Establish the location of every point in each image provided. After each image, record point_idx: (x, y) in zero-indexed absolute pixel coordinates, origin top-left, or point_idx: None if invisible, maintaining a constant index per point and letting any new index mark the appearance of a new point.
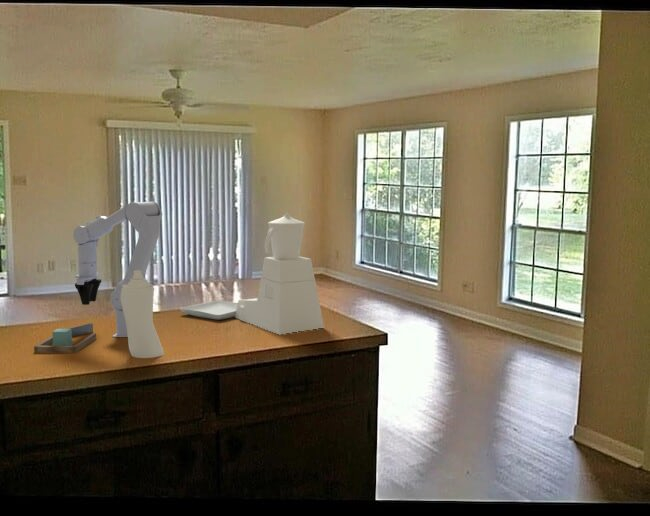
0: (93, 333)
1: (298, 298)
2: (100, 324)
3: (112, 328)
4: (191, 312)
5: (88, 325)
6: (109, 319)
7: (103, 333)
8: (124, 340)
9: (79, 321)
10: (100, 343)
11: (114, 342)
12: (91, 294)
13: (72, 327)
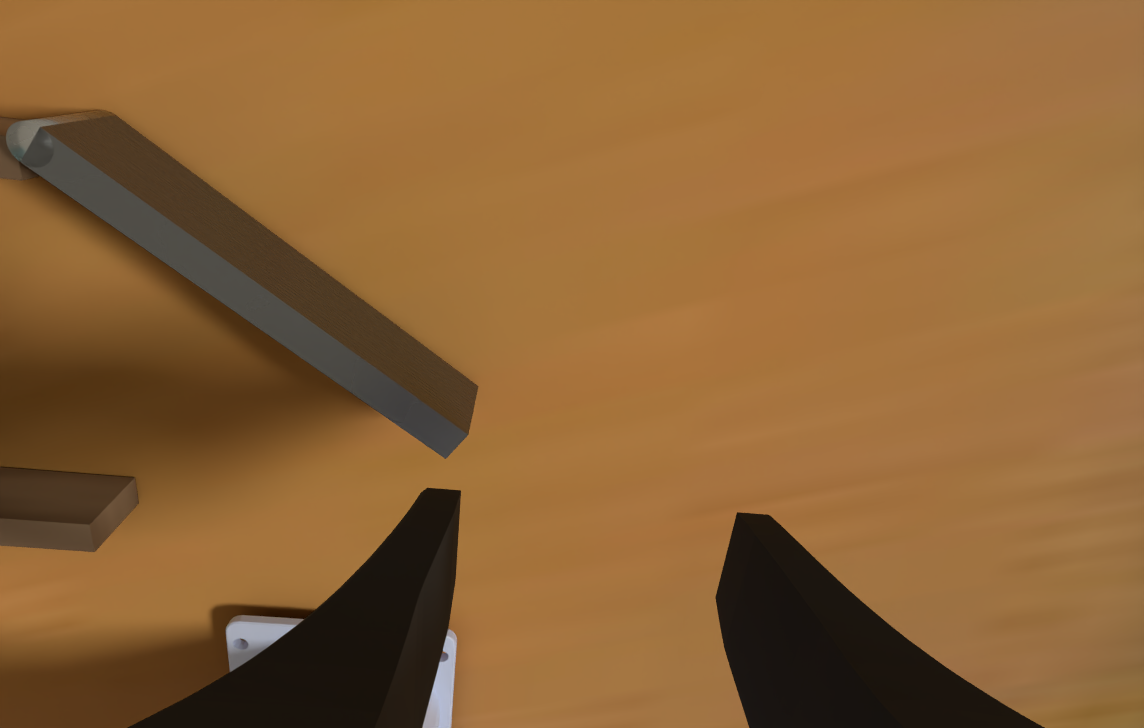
0: (87, 532)
1: None
2: (856, 385)
3: (652, 526)
4: None
5: (400, 418)
6: (1083, 419)
7: None
8: None
9: (1093, 106)
10: None
11: (133, 637)
12: (766, 650)
13: (214, 286)
